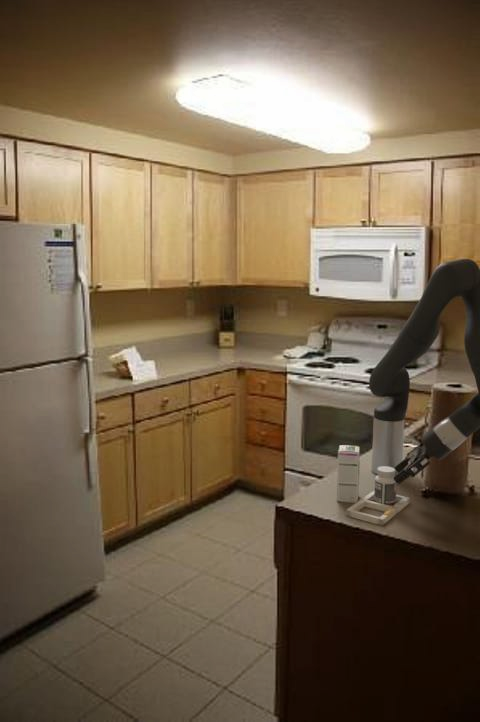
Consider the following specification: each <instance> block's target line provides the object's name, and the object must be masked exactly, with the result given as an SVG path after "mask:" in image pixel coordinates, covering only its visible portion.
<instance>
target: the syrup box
mask: <svg viewBox="0 0 480 722" xmlns="http://www.w3.org/2000/svg"><path fill="white" fill-rule="evenodd" d="M360 448H361V447H360V446H359V445H353V444H351V445H349V444H342V445H341V444H340V445H339V446H338V451H337V478H336V479H337V482H336V483H337V485H336V487H337V488H336V491H337V492H336V501H337V502H342V503H351V504H355V503H357V502H358V501H359V493H360V491H359V490H360Z"/></svg>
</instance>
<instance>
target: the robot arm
mask: <svg viewBox="0 0 480 722" xmlns="http://www.w3.org/2000/svg"><path fill="white" fill-rule="evenodd" d="M459 297H461V299H462V302H463V304H464V308H465V316H466V317H465V318H466V319H465V326H464V327H465V329H464V336H463V339H464V340H463V341H464V349H465V353H466V356H467V360H468V363H469V365H470V370H471V371H472V374H473V376H474V378H475V384H476V388H477V393H475V395H474V396H472V397H471V398H470V399H469V400H468V401H467V402H466V403H465V404H463V405H462V406H460V407H459V408H458V409H456V410H455V411H454V412H452V413H451V414H450V415H449V416H447V417H446V418H444V419H442V420H440V422H438V423H437V424H435V425H434V426H433V427H432V428H431V429H430V430H428V431H427V432H426V433H425V434H424V435H422V436H421V437H420V440H421V442H420V443H419V444H418V445H416V446H415V447H414V448H413V449H412V450H410V451H409V452H407V454H406V456H405V457H404V459H403V456H404V455H403V454H404V442H405V441H404V439H405V438H404V437H405V417H406V413H407V411H408V406H409V396H410V388H411V387H410V384H411V383H410V381H411V378H410V374H409V371H408V370H407V368H406V367H407V366H409V365H410V364H412V363H413V362H415V361H417V360H418V359H420V358H421V357H422V356H423V355H425V354H426V353H427V352H428V351H429V350H430V348H431V347H432V345H434V342H435V341H436V340H437V337H438V335H439V333H440V331H441V330H440V329H441V326H440V325H441V324H440V323H441V322H440V317H441V314H442V313H443V311H444V310H445V308H446V307H447V306H448V304H449V303H450V302H451V301H452V300H454V299H455V298H459ZM368 386H369V391H370V392H371V393H372V395H374V396H376V397H379V398H387V399H386V400H385V401H384V402H382V403H381V404H379V405H377V406H376V407H375V408H374V410H373V425H372V427H373V428H372V430H373V432H372V448H371V449H372V450H371V453H372V454H371V472H372V473H374V474H375V475H378V473H377V468H378V467H381V466H388V467H392V468H394V469H395V475H394V480H395V482H396V483H397V485H400V484H402V483H403V482H404V481H405V480H407V479H408V478H410V477H411V478H415V477H416V476H417V475H418V474H419V473H421V472H422V471H423V470H424V469H425V468H426V467H429V466H430V464H431V461H430V460H431V459H432V457H434V458H435V459H437V460H439V461H441V460H443V459H444V458H446V457H447V456H448V455H449V454H450V453H452V452H453V451H454V450H455V449H456V448H457V449H458V447H460V445H462V444H463V442H465V441H466V440H467V439H468V438H469V437H471V436H472V435H474V433H475V432H477V431H478V430H479V429H480V267H479V265H478V264H477V262H475V261H474V260H472V259H470V258H460V259H459V258H458V259H455V260H450V261H445V262H443V263H441V264H439V265H438V266H437V267H436V268H435V269H434V270H433V272H432V273H431V276H430V278H429V280H428V282H427V284H426V287H425V288H424V290H423V292H422V295H421V297H420V299H419V301H418V302H417V304H416V306H415V307H414V309H413V311H412V312H411V314H410V316H409V317H408V318H407V321H406V322H405V323H404V325H403V327H402V328H401V330H400V331H399V333H398V334H397V337H396V339H394V342H393V343H392V344H391V346H390V348H389V349H388V350H387V352H386V353H385V355H384V356H383V357H382V358H381V360H379V362H378V363H377V365H376V366H375V367H374V368H373V370H372V371H371V373H370V375H369V380H368Z"/></svg>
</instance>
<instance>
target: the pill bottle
mask: <svg viewBox="0 0 480 722" xmlns="http://www.w3.org/2000/svg"><path fill="white" fill-rule="evenodd" d="M377 473H378V474H376V476H375V479H374V490H375V494H374V500H373V502H377V503H381V504H385V505H389V506H394V505H395V504H397V501H396V495H397V486H398V484H397V483H396V482H395V480H394V475H395V469H394V468H392V467H388V466H381V467H378V468H377Z"/></svg>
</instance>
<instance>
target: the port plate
mask: <svg viewBox="0 0 480 722" xmlns="http://www.w3.org/2000/svg"><path fill="white" fill-rule="evenodd" d="M374 494H375V489H374V490H372V491H371V492H370V493H368V494H367V495H365V496H364V497H362V498H361V499H360V500H358V502H357V503H353V504H352V505H351V506H350V507H348V508H347V509H346V510H345V516H347V517H349V518H353V519H354V518H355V519H358V520H361V521H364V522H365V521H366V522H369V523H371V524H376V525H378V526H379V525H380V526H384V524H386V523H387V522H389V520H391V519H392V518H393V517H394V516H396V515H397V514H398V513H399V512H401V511H402V510H403V509H404V508H405V507H406V506H408V505H409V504H410V497H407V496H403V495H400V494H396V504H395V505H394V506H389V505H385V504H381V503H377V502H374ZM364 507H366V508H370V509H374V510H377V511H381V512H383V514H382V515H380V516H377V515H376V516H375V515H373V514H370V513H369V514H368V513H365V512H361V510H362V509H363V508H364Z"/></svg>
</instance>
